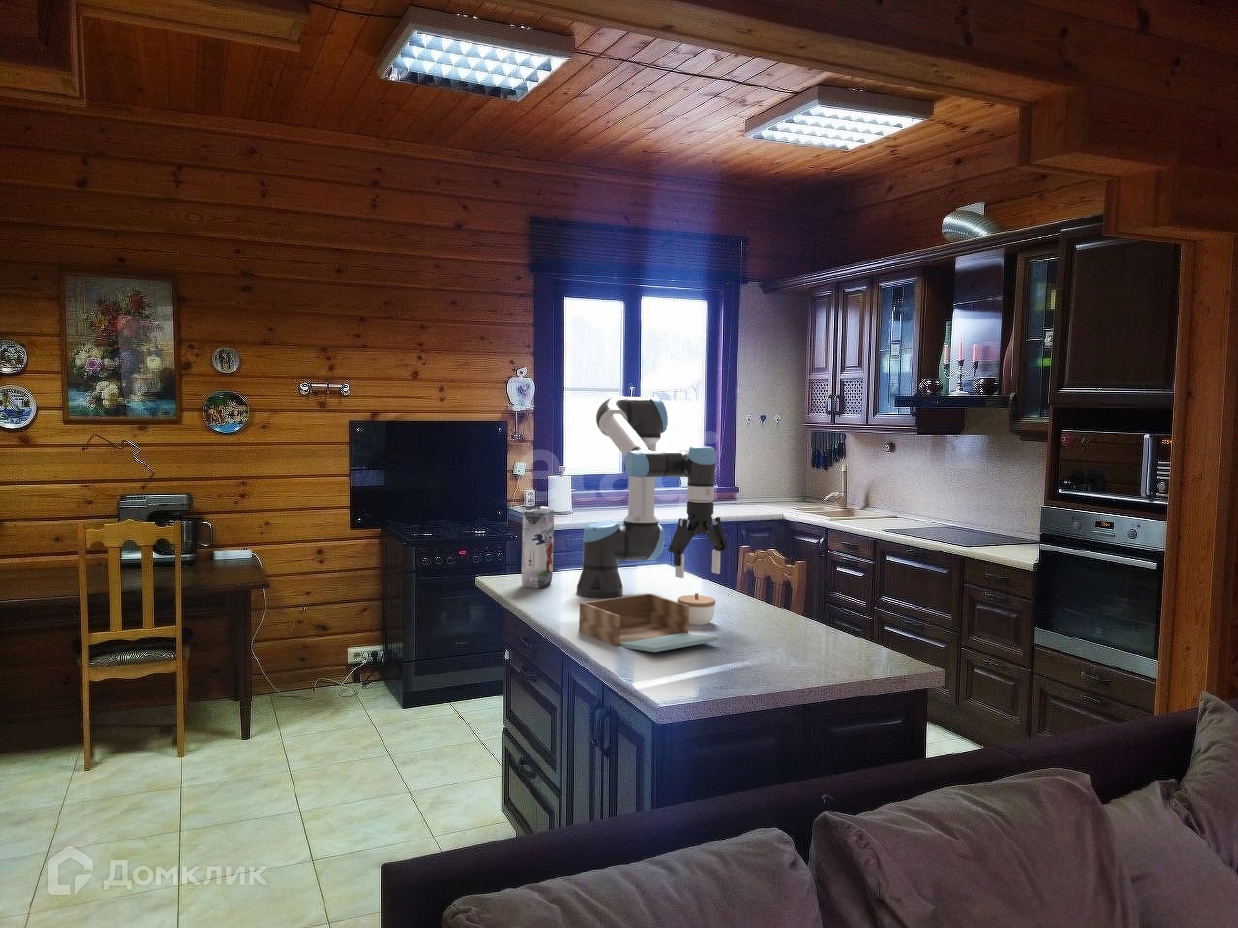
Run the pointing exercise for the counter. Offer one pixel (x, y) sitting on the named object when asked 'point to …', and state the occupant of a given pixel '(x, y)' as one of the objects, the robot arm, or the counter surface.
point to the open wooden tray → (632, 618)
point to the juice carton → (537, 547)
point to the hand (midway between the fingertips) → (697, 575)
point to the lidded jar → (699, 608)
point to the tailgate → (669, 642)
